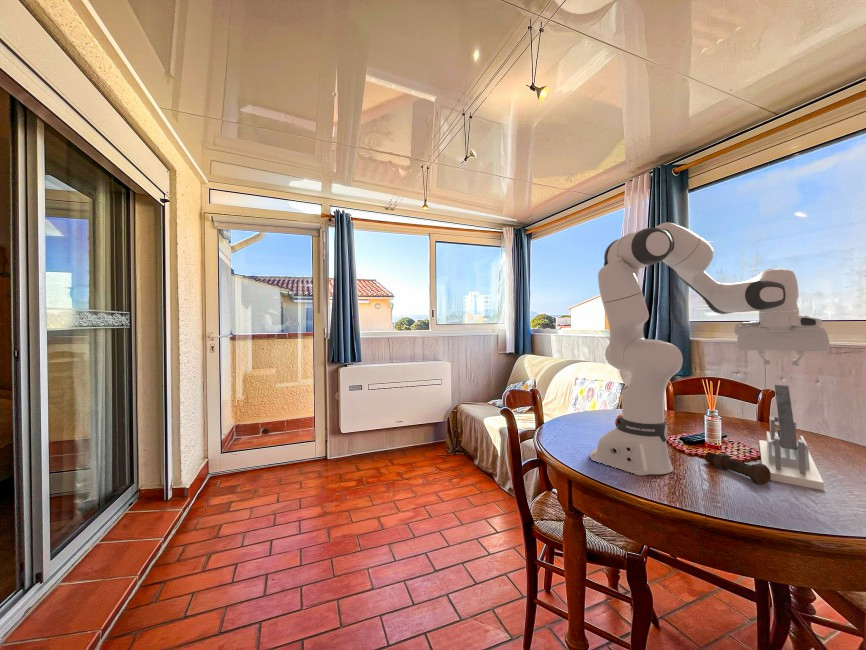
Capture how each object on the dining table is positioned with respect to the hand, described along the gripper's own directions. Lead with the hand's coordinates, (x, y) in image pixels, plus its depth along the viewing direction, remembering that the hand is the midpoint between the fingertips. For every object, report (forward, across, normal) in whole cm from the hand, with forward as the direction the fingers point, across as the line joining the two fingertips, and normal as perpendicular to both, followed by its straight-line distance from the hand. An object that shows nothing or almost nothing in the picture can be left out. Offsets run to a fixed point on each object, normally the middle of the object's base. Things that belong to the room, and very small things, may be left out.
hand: (780, 365), depth 106 cm
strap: (+14, 0, -8) cm, 16 cm away
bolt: (+30, -11, -22) cm, 38 cm away
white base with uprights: (+29, 0, -6) cm, 30 cm away
